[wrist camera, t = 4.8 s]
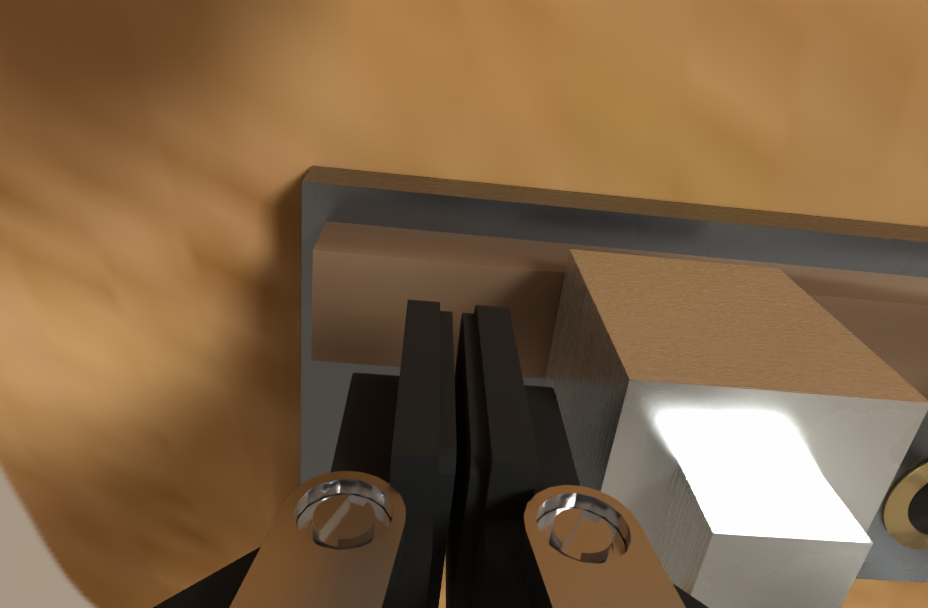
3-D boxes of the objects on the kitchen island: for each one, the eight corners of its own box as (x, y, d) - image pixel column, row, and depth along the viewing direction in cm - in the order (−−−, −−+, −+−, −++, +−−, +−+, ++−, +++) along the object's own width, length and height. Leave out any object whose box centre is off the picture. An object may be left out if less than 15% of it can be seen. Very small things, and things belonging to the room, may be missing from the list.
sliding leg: (663, 510, 17) (792, 821, 11) (508, 500, 17) (547, 814, 11) (748, 241, 14) (999, 463, 8) (558, 223, 14) (656, 438, 7)
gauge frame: (1094, 525, 18) (1474, 848, 12) (320, 473, 17) (238, 813, 10) (1252, 295, 15) (1894, 552, 9) (326, 207, 14) (215, 436, 7)
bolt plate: (1033, 558, 21) (1070, 595, 19) (308, 513, 19) (298, 550, 18) (1231, 257, 16) (1295, 280, 15) (311, 166, 15) (300, 183, 13)
